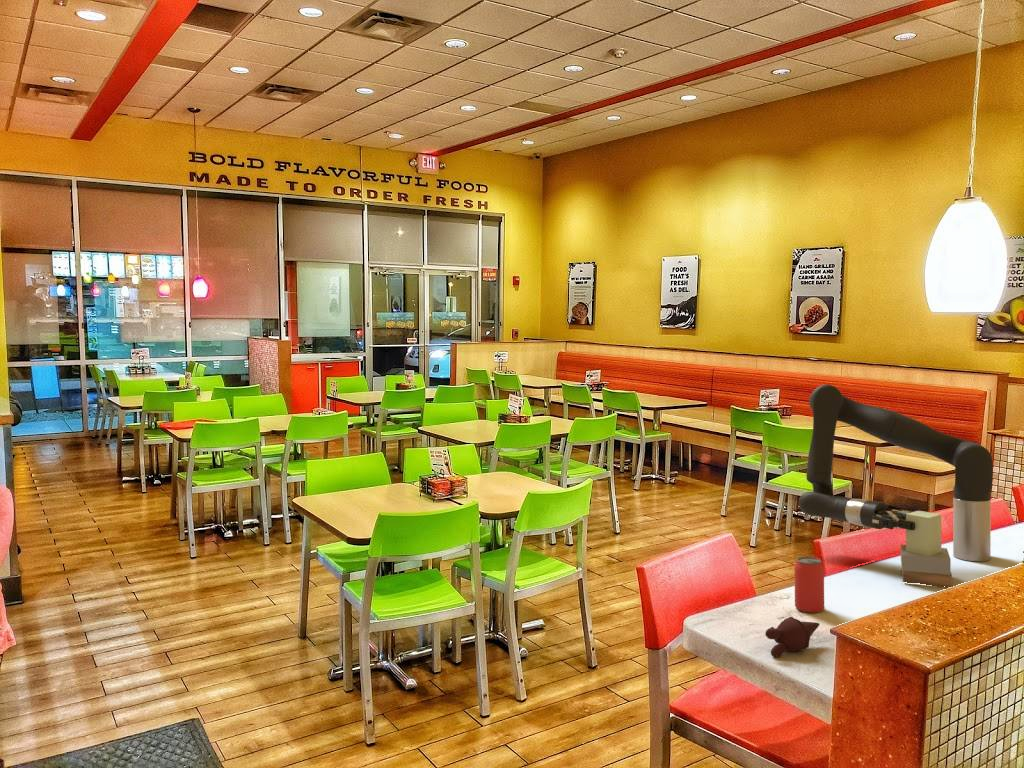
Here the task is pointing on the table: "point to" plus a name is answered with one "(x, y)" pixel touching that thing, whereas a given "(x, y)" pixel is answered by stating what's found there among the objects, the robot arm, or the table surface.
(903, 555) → the tower top block
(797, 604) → the beer can
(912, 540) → the sage block
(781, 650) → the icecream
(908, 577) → the tower base block
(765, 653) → the table surface
